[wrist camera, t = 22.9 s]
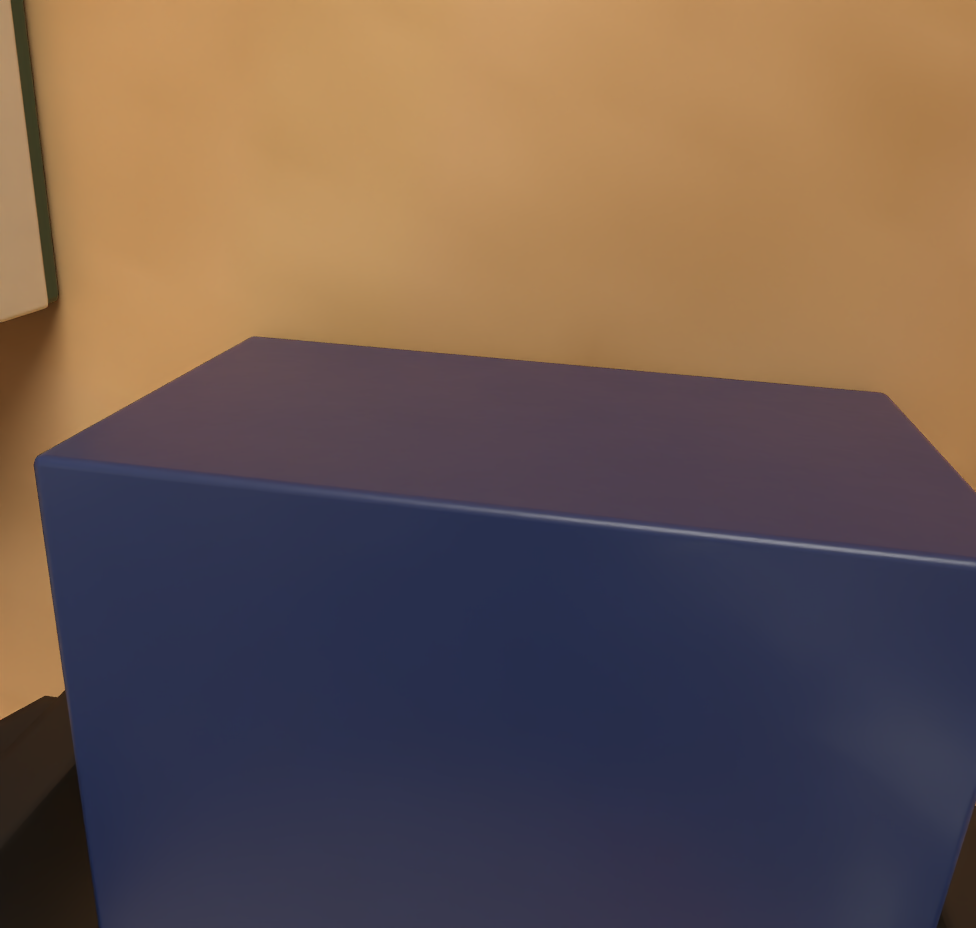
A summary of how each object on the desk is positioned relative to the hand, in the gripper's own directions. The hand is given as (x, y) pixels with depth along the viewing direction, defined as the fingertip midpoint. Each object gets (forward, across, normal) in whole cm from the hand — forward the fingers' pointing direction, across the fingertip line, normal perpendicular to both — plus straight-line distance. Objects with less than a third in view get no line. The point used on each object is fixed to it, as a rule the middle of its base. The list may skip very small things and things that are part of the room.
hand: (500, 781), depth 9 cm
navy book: (+1, 0, 0) cm, 1 cm away
